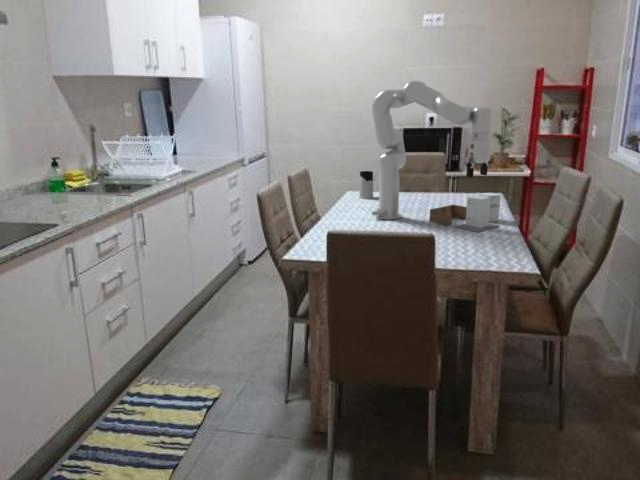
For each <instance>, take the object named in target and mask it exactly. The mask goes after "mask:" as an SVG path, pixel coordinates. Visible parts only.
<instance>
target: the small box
mask: <svg viewBox="0 0 640 480" xmlns="http://www.w3.org/2000/svg"><path fill="white" fill-rule="evenodd" d="M466 207H467V210H466V220H465V224H466V225H468V226H473V227H478V228H483V227H486V226H489V211H490V198H489V197H483V196H479V195H470V196H467V199H466Z"/></svg>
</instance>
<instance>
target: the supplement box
mask: <svg viewBox="0 0 640 480" xmlns="http://www.w3.org/2000/svg"><path fill="white" fill-rule="evenodd" d="M478 196H483V197H489V198H490V211H489V222H499V219H500V218H499V217H500V207H501V205H500V204H501V194H498V193H494V192H482V193H478Z"/></svg>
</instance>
